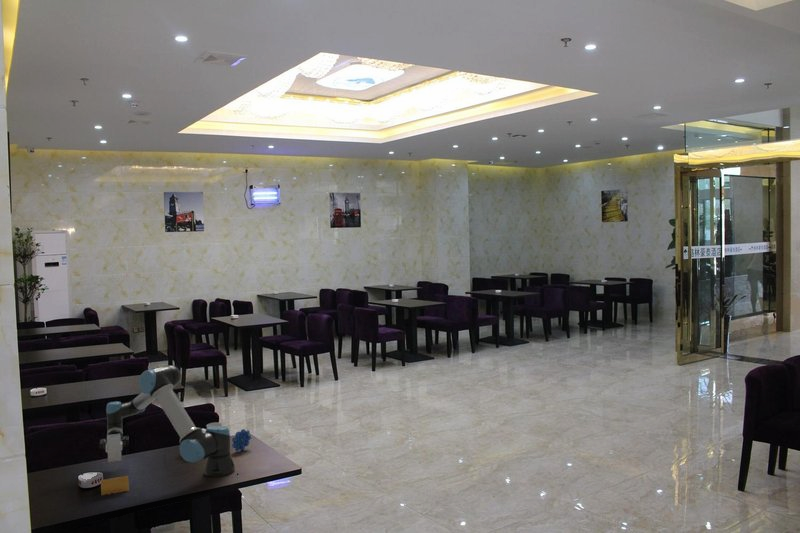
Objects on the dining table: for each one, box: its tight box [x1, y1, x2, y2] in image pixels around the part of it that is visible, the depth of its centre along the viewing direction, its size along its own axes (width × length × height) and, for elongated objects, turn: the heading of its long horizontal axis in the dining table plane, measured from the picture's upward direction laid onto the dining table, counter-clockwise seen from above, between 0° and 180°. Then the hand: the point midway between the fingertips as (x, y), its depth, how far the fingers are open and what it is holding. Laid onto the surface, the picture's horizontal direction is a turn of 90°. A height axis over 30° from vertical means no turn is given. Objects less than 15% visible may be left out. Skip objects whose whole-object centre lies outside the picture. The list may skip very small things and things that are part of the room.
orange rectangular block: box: [100, 475, 130, 496], centre depth 305 cm, size 9×12×7 cm
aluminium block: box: [106, 434, 122, 463], centre depth 317 cm, size 6×6×12 cm
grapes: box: [231, 428, 252, 452], centre depth 360 cm, size 12×7×12 cm, turn 129°
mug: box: [206, 422, 223, 428], centre depth 376 cm, size 12×9×11 cm
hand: (114, 448), depth 312 cm, fingers closed on aluminium block, 6 cm apart
